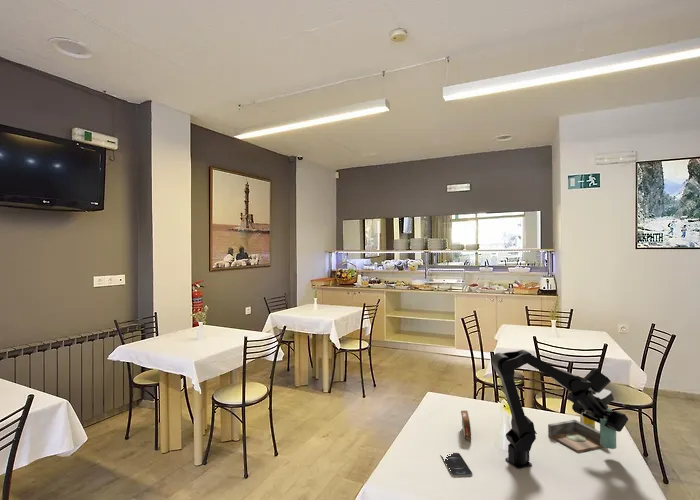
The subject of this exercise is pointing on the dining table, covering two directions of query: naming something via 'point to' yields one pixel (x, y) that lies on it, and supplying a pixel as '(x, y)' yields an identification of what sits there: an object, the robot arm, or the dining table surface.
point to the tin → (466, 425)
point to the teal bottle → (607, 434)
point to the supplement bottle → (587, 421)
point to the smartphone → (457, 465)
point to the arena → (575, 435)
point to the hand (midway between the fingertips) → (610, 426)
